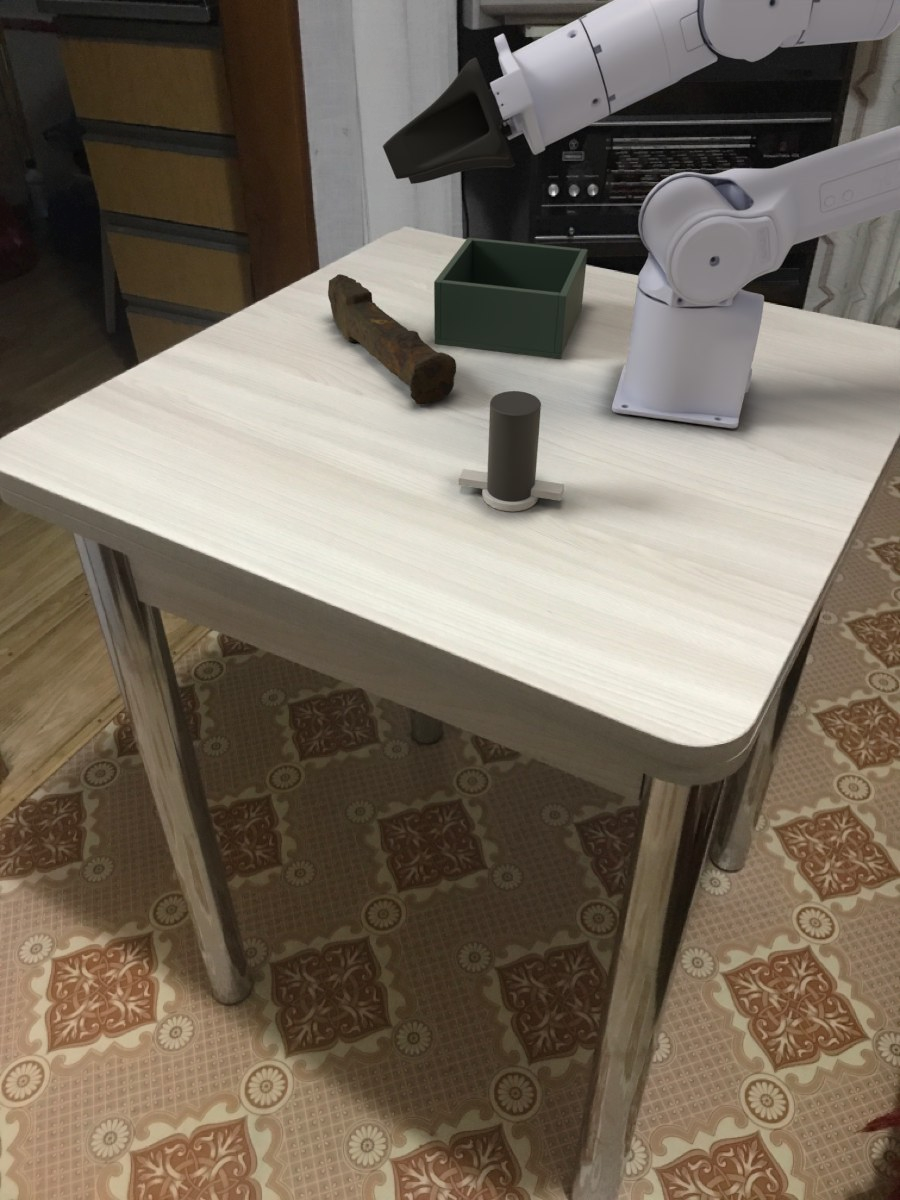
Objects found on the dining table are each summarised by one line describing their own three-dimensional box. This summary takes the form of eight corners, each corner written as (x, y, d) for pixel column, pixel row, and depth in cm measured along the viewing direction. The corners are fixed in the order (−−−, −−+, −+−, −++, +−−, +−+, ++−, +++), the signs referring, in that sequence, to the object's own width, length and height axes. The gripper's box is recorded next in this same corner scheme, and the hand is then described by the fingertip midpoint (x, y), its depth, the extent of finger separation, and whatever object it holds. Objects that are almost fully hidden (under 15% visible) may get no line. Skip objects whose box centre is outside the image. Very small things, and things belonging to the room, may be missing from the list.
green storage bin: (581, 308, 86) (587, 249, 82) (560, 359, 77) (566, 296, 74) (466, 295, 88) (467, 237, 84) (434, 343, 80) (433, 281, 76)
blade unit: (566, 488, 62) (575, 395, 58) (556, 519, 59) (565, 424, 55) (467, 473, 64) (469, 381, 59) (453, 503, 61) (453, 409, 56)
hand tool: (458, 399, 72) (459, 343, 69) (413, 410, 70) (412, 354, 67) (362, 313, 85) (359, 263, 82) (321, 321, 83) (317, 270, 80)
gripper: (565, 23, 62) (388, 115, 65) (575, -31, 49) (351, 88, 52) (601, 129, 65) (428, 213, 68) (620, 104, 51) (403, 210, 54)
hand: (397, 166), depth 60 cm, fingers open, 7 cm apart
